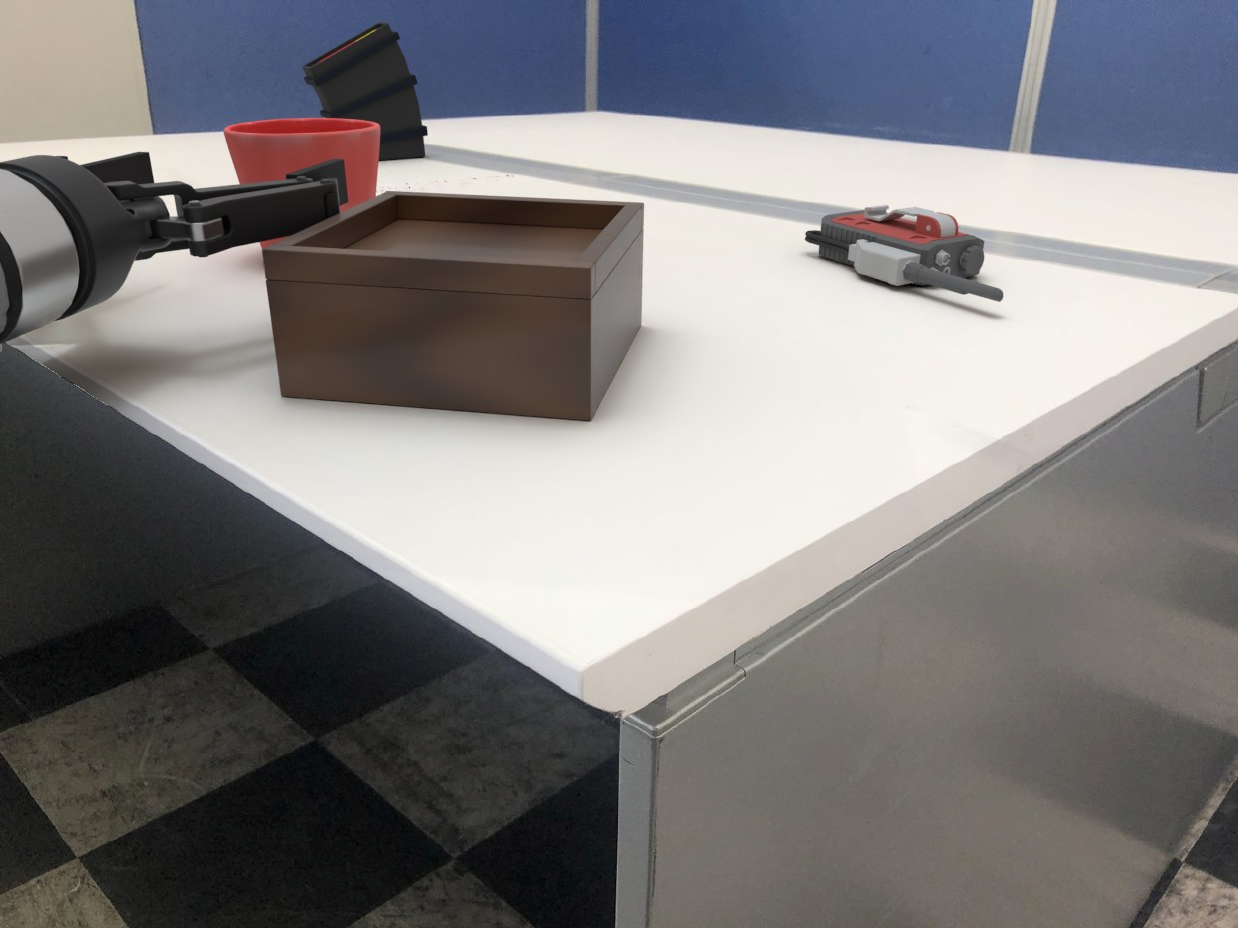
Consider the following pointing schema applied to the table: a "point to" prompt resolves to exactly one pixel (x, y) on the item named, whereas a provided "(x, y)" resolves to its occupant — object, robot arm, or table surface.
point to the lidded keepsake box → (459, 302)
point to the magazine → (372, 89)
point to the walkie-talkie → (905, 248)
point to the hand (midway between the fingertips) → (243, 176)
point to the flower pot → (306, 152)
